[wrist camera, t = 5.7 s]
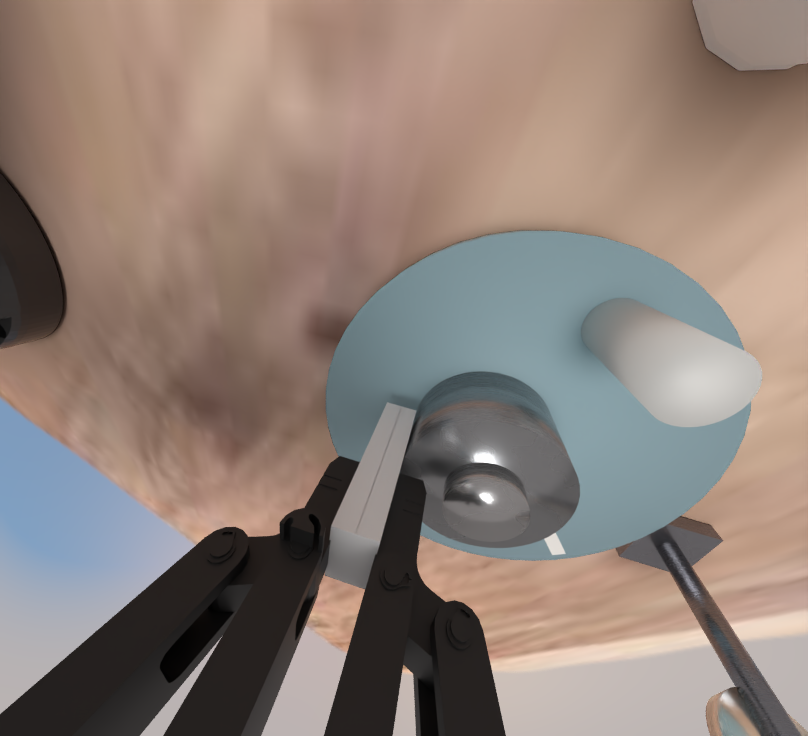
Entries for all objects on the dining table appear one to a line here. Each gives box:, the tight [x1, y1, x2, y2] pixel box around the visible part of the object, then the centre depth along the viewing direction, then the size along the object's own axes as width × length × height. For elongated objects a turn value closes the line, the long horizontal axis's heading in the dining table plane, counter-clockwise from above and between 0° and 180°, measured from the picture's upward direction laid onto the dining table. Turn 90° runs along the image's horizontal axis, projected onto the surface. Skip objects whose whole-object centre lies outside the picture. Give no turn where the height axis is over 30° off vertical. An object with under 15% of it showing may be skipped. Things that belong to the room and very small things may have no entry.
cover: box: [400, 371, 580, 548], centre depth 13 cm, size 7×7×5 cm
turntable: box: [326, 230, 762, 561], centre depth 14 cm, size 20×20×7 cm
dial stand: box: [616, 516, 808, 736], centre depth 14 cm, size 4×4×12 cm
